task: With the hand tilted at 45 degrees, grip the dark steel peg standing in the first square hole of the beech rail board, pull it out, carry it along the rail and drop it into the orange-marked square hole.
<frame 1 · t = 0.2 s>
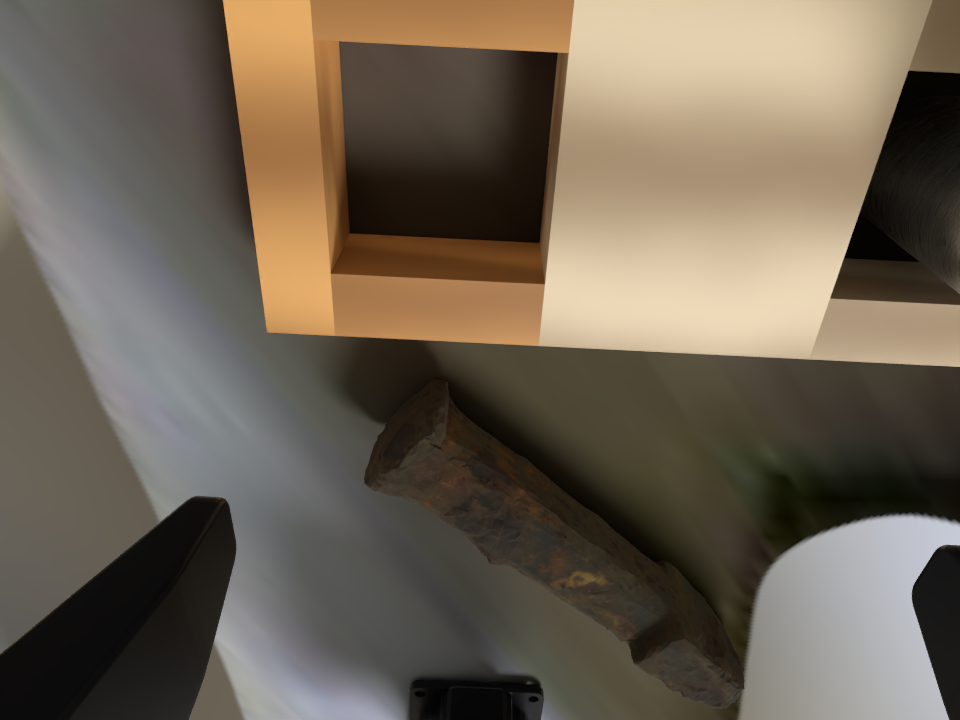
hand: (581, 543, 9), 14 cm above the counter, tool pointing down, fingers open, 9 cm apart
brown rough long piece: (588, 512, 29), on the counter
steel peg: (921, 166, 21), resting in rail board
rail board: (701, 155, 21), on the counter
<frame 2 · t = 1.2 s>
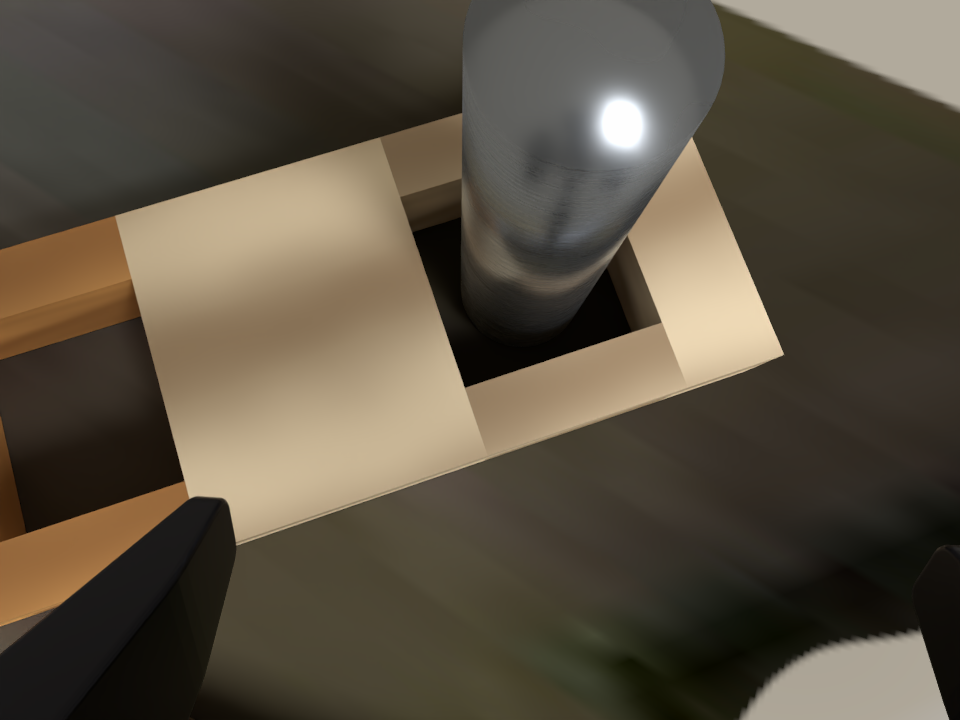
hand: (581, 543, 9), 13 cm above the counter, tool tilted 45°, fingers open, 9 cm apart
steel peg: (520, 288, 23), resting in rail board
rail board: (332, 348, 23), on the counter
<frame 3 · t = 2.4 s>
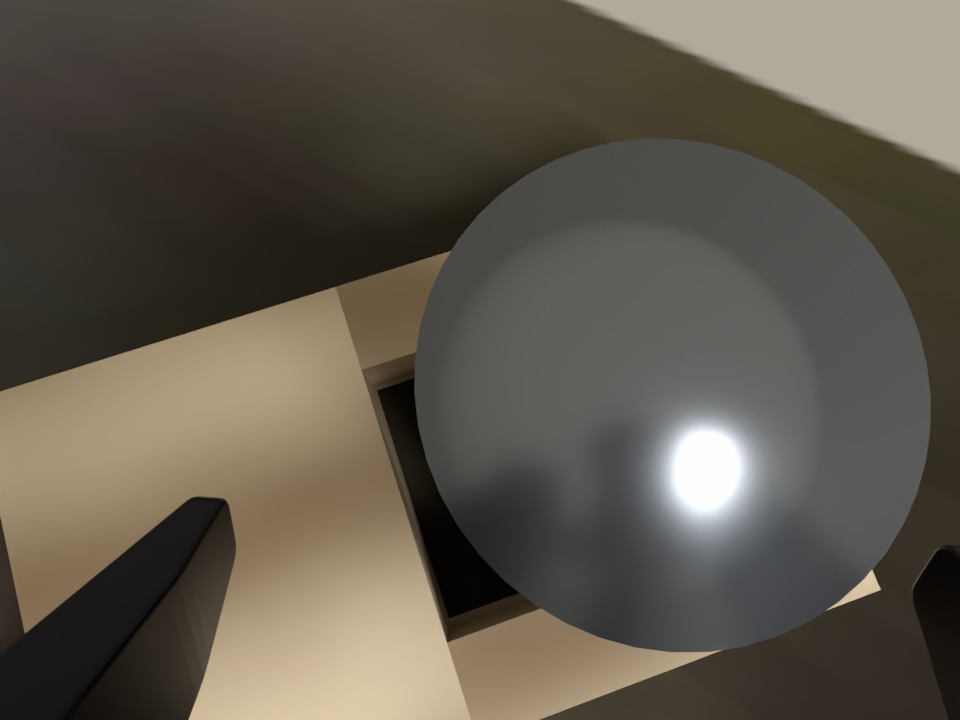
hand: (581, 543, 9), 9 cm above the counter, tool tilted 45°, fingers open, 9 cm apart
steel peg: (522, 463, 18), resting in rail board
rail board: (278, 547, 18), on the counter
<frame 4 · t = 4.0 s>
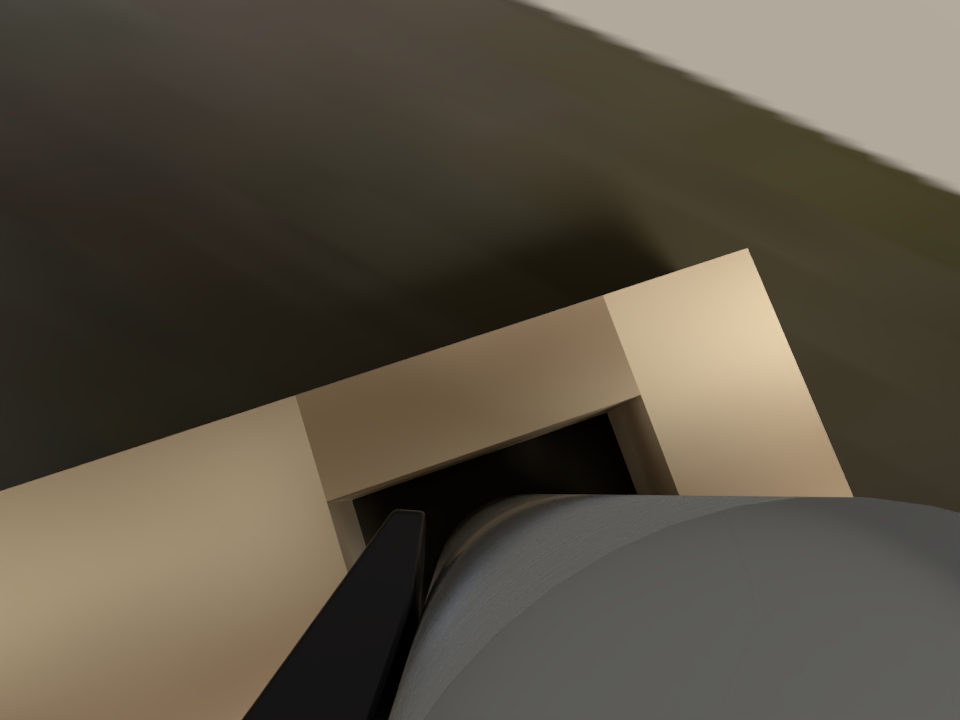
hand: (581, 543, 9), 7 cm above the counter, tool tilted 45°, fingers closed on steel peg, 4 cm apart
steel peg: (526, 588, 15), resting in rail board, touching gripper
rail board: (231, 695, 15), on the counter
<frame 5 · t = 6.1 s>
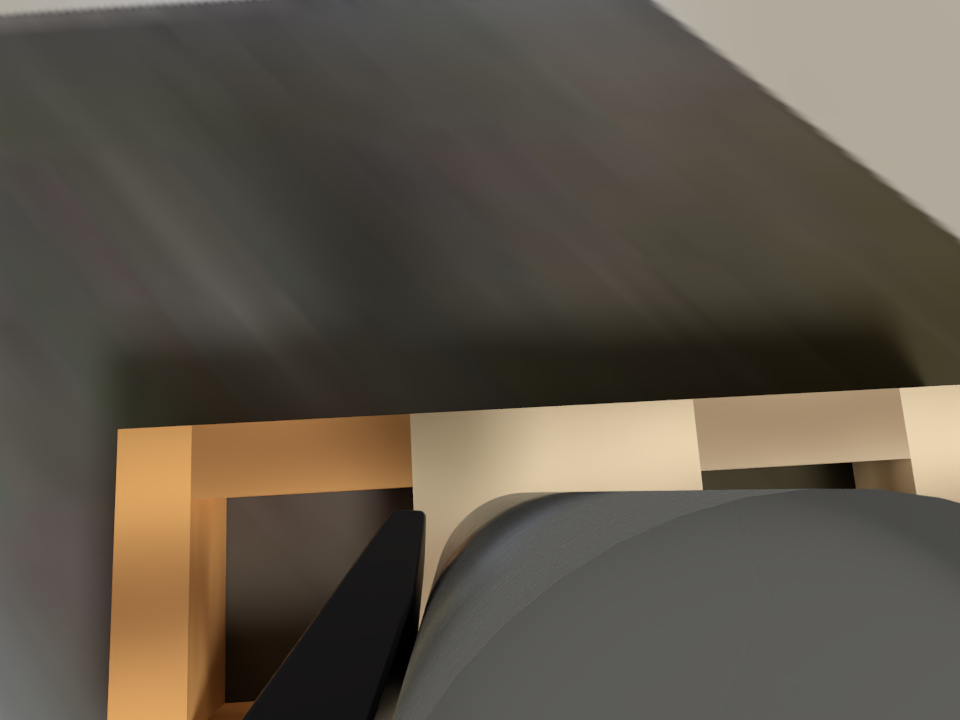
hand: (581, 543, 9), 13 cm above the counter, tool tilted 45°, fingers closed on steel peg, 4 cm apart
steel peg: (528, 586, 15), point 7 cm above the counter, touching gripper
rail board: (567, 576, 22), on the counter
when the fingers open (8 cm above the counter, at t = 8.2 s): steel peg drops 1 cm, resting in rail board.
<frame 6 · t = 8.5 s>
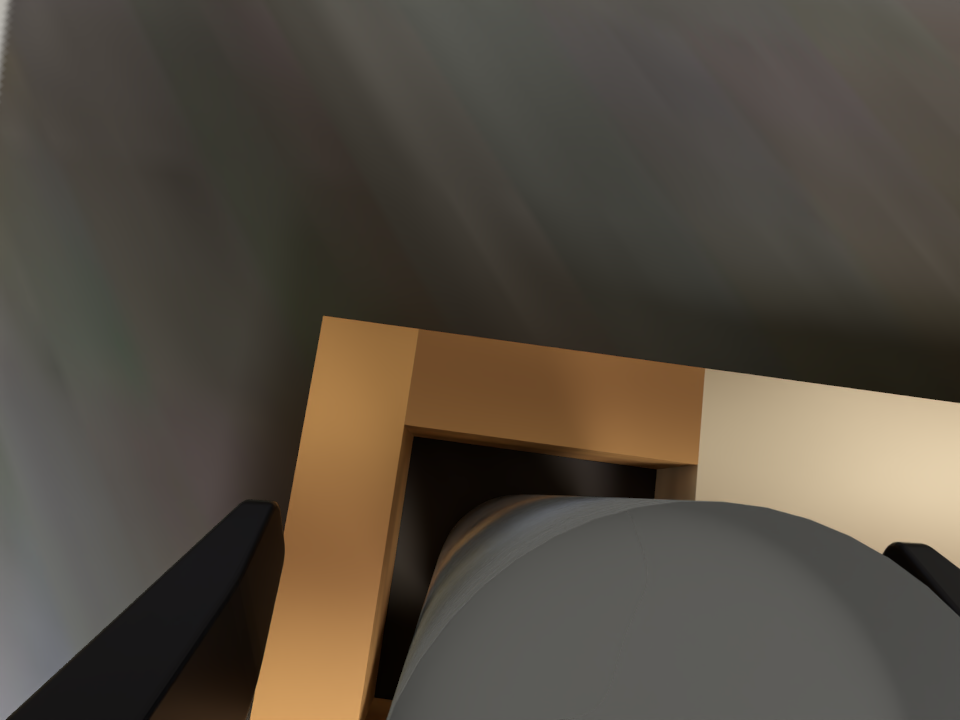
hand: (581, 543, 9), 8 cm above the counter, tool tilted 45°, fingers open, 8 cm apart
steel peg: (520, 580, 17), resting in rail board
rail board: (834, 622, 17), on the counter
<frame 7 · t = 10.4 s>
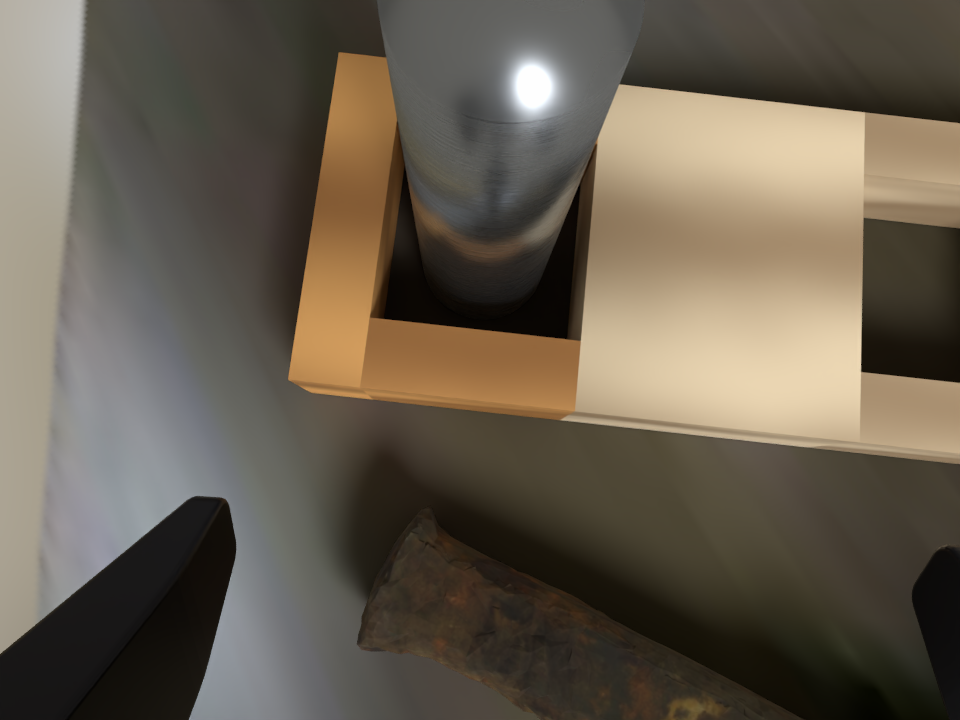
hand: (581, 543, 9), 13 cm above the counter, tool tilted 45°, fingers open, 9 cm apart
brown rough long piece: (671, 675, 22), on the counter
steel peg: (483, 260, 23), resting in rail board
rail board: (707, 285, 23), on the counter
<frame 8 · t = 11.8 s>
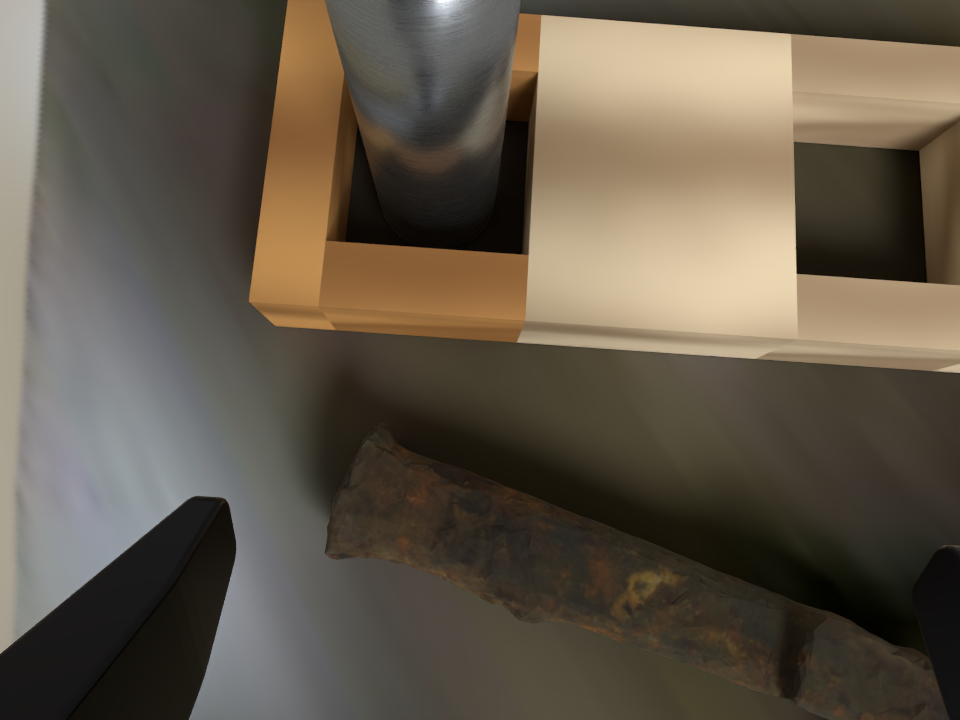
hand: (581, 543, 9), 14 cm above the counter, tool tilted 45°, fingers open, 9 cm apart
brown rough long piece: (637, 571, 22), on the counter
steel peg: (437, 195, 24), resting in rail board
rail board: (653, 210, 24), on the counter
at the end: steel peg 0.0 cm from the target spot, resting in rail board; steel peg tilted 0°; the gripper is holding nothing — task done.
